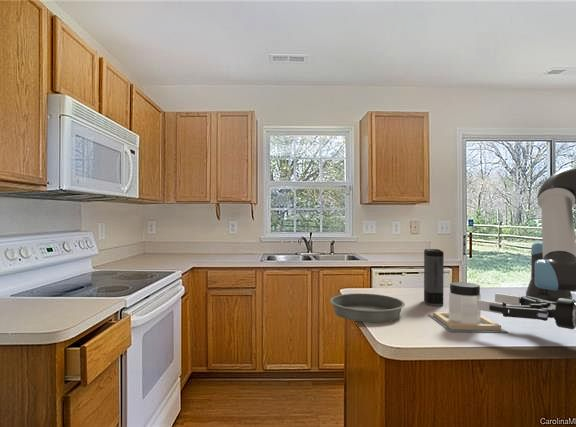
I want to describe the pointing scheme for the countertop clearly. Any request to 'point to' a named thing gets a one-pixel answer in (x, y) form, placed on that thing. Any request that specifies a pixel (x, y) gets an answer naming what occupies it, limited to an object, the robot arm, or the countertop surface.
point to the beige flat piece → (484, 325)
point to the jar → (464, 303)
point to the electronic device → (433, 277)
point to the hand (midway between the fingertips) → (487, 301)
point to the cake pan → (367, 307)
